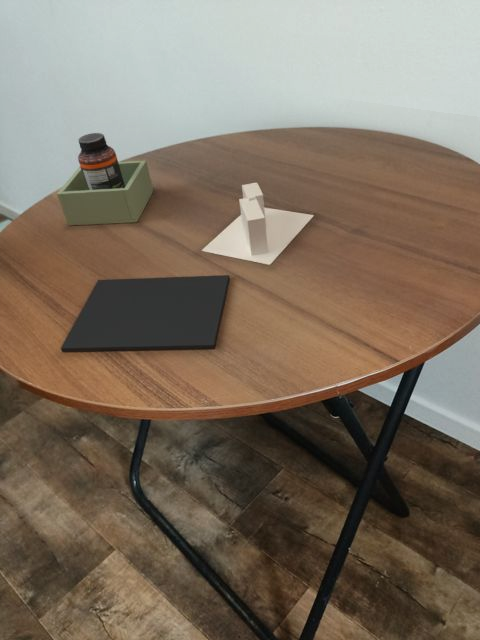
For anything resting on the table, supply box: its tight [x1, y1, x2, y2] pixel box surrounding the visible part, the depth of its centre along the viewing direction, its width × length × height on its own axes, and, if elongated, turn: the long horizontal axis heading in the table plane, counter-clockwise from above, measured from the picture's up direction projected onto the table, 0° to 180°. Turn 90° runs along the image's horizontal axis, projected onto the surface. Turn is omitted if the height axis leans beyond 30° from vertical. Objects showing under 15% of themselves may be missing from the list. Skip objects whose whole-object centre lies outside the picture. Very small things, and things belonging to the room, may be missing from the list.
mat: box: [60, 274, 231, 353], centre depth 64 cm, size 18×14×1 cm
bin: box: [56, 160, 154, 227], centre depth 87 cm, size 12×12×6 cm
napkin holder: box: [201, 182, 315, 266], centre depth 75 cm, size 15×11×6 cm
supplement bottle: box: [77, 132, 125, 190], centre depth 84 cm, size 6×6×11 cm
